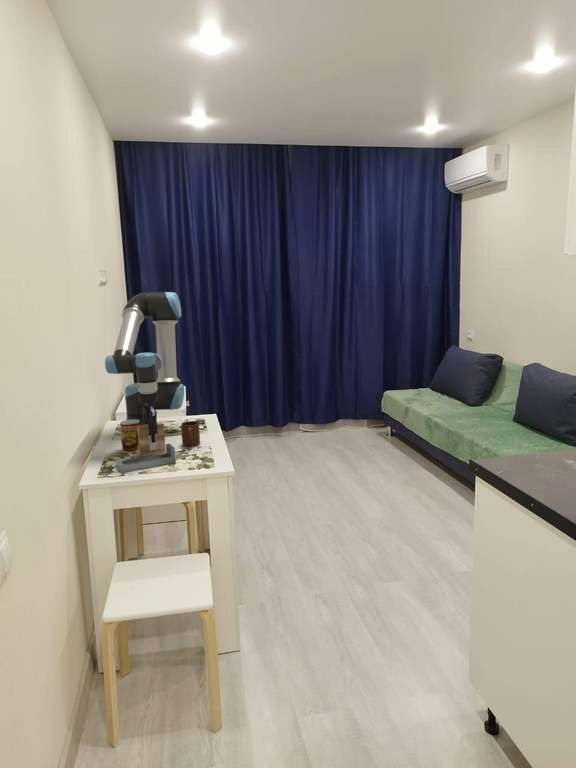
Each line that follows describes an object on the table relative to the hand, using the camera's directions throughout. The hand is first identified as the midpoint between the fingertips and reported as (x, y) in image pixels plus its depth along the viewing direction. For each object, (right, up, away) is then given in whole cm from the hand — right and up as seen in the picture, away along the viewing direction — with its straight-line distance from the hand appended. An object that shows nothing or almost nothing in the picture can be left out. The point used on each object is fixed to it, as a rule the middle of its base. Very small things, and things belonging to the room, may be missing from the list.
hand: (152, 448), depth 230 cm
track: (0, -5, -11) cm, 12 cm away
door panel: (0, -2, 0) cm, 2 cm away
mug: (+14, -1, +13) cm, 19 cm away
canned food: (-11, -2, +10) cm, 15 cm away
